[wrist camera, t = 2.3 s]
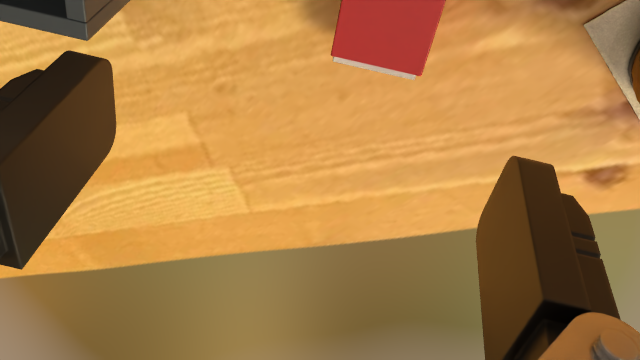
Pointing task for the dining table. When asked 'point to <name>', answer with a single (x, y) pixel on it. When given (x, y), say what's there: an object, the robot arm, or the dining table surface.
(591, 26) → the condiment
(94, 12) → the storage bin
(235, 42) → the dining table surface
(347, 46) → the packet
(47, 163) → the robot arm
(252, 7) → the dining table surface
